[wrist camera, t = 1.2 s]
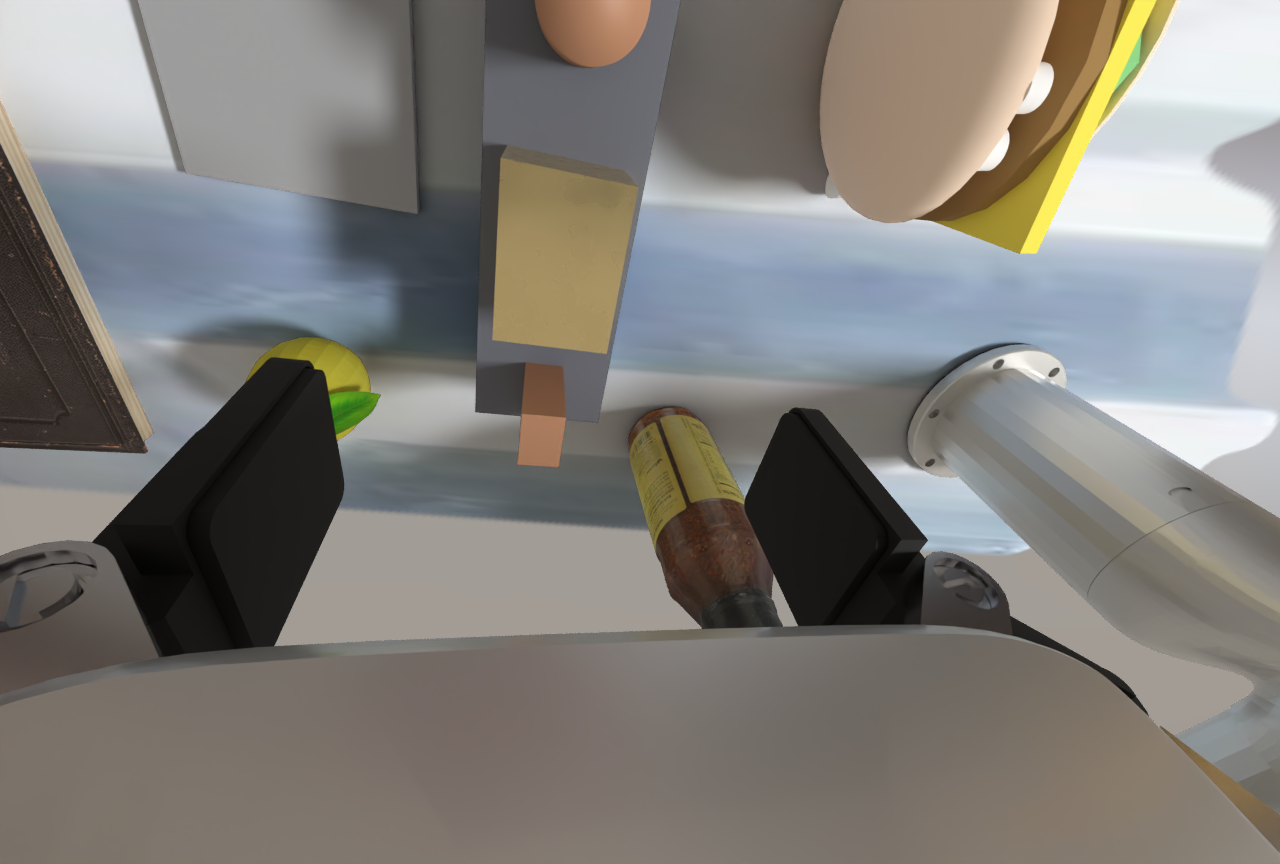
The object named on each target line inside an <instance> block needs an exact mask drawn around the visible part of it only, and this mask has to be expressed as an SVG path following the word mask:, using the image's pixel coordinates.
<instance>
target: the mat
mask: <svg viewBox="0 0 1280 864" xmlns="http://www.w3.org/2000/svg"><path fill="white" fill-rule="evenodd" d="M138 4H139V8H140V11H141V15H142V18H143V22H144V25H145V29H146V33H147V36H148V40H149V43H150V47H151V51H152V54H153V58H154V61H155V65H156V69H157V72H158V76H159V79H160V83H161V86H162V90H163V94H164V97H165V101H166V104H167V108H168V112H169V115H170V119H171V122H172V126H173V129H174V133H175V137H176V140H177V144H178V147H179V151H180V155H181V158H182V162H183V165H184V169H185V172H186V173H187V174H193V175H199V176H204V177H210V178H216V179H221V180H227V181H232V182H238V183H244V184H249V185H255V186H261V187H266V188H272V189H278V190H283V191H289V192H295V193H300V194H306V195H312V196H317V197H323V198H329V199H334V200H340V201H346V202H351V203H357V204H363V205H368V206H374V207H380V208H385V209H391V210H397V211H402V212H408V213H414V214H418V213H419V212H420V198H419V173H418V147H417V122H416V96H415V70H414V45H413V19H412V0H138Z"/></svg>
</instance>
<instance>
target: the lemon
mask: <svg viewBox="0 0 1280 864" xmlns="http://www.w3.org/2000/svg"><path fill="white" fill-rule="evenodd" d="M271 357H278V358H288V359H298V360H309V361H310V362H311V363H312V364H313V366H314V369H320V370H323V371H324V373H325V376H326V380H327V386H328V392H329V398H330V403H331V409H332V415H333V421H334V426H335V432H336V438H337V441H338V440H339V439H341V438H342V437H344V436H346V435H347V434H349V433H350V432H351V431H352V430H353V429H354V428H355V427H356V425H357V424H358V423H360V422H361V421H362V420H363V419H364V418H366V417H367V416H368V415H369V414H370V413H371V412H372V411H373V410H374V408H375V406H376V404H377V401H378V399H379V397H380V396H381V395H380V394H374V393H370V391H371V387H370V382H369V378H368V374H367V371H366V369H365V367H364V365H363V363H362V362H361V360H360V358H359V357H358V356H356V355H355V354H354V353H353V352H352V351H351V350H350V349H348V348H346V347H344V346H342V345H341V344H339V343H337V342H335V341H331V340H327V339H323V338H317V337H303V338H296V339H293V340H289V341H286V342H283V343H280V344H278V345H276V346H275V347H273V348H272V349H271V350H269V351H268V352H267V353H265V354H264V355H263V356H261V357H260V358H259V359H258V361H257V362H256V363H255V365H254V367H253V368H252V370H251V372H250V374H249V376H248V378H247V380H246V382H247V381H248V380H249V379H250V378H251V377H252V375H253V374H254V373H255V372H256V371H257V370H258V369H259V368H260V367H261V366H262V365H263V364H264V363H265V362H266V361H267V360H268V359H269V358H271Z"/></svg>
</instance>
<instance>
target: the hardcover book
mask: <svg viewBox="0 0 1280 864" xmlns="http://www.w3.org/2000/svg"><path fill="white" fill-rule="evenodd" d="M152 433H154V432H153V430H152V428H151V425H150V423H149V421H148V419H147V417H146V415H145V412H144V410H143V408H142V406H141V404H140V401H139V399H138V397H137V395H136V393H135V391H134V388H133V386H132V384H131V382H130V380H129V378H128V375H127V373H126V371H125V369H124V367H123V365H122V362H121V360H120V358H119V356H118V354H117V351H116V349H115V347H114V345H113V343H112V341H111V338H110V336H109V334H108V332H107V330H106V328H105V325H104V323H103V321H102V319H101V317H100V315H99V312H98V310H97V308H96V306H95V304H94V302H93V299H92V297H91V295H90V293H89V291H88V288H87V286H86V284H85V282H84V280H83V278H82V275H81V273H80V271H79V269H78V267H77V265H76V262H75V260H74V258H73V256H72V254H71V252H70V249H69V247H68V245H67V243H66V241H65V238H64V236H63V234H62V232H61V230H60V228H59V225H58V223H57V221H56V219H55V217H54V215H53V212H52V210H51V208H50V206H49V204H48V202H47V199H46V197H45V195H44V193H43V191H42V189H41V186H40V184H39V182H38V180H37V178H36V175H35V173H34V171H33V169H32V167H31V165H30V162H29V160H28V158H27V156H26V154H25V152H24V149H23V147H22V145H21V143H20V141H19V139H18V136H17V134H16V132H15V130H14V128H13V126H12V123H11V121H10V119H9V117H8V115H7V112H6V110H5V108H4V106H3V104H2V102H1V99H0V447H5V448H29V449H52V450H75V451H98V452H121V453H146V452H147V451H148V450H147V448H146V446H145V444H144V441H145V440H146V439H147V438H148V437H150V436H151V435H152Z"/></svg>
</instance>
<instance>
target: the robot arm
mask: <svg viewBox="0 0 1280 864" xmlns="http://www.w3.org/2000/svg"><path fill="white" fill-rule="evenodd" d="M1066 379H1067V376H1066V372H1065V368H1064V366H1063V364H1062V363H1061V362H1060V360H1059V359H1058V358H1057V357H1055V356H1054V355H1052V354H1051V353H1049V352H1047V351H1045V350H1043V349H1041V348H1039V347H1037V346H1031V345H1025V344H1022V345H1009V346H1004V347H1000V348H996V349H993V350H990V351H988V352H985V353H983V354H980V355H978V356H976V357H974V358H972V359H971V360H969V361H967V362H965V363H963V364H962V365H960V366H959V367H957V368H956V369H955V370H953V371H952V372H950V373H949V374H948V375H947V376H946V377H944V378H943V379H942V380H941V381H940V382H939V383H938V384H937V385H936V386H935V387H934V388H933V389H932V390H931V391H930V392H929V393H928V395H927V396H926V397H925V398H924V400H923V401H922V403H921V404H920V406H919V407H918V409H917V410H916V413H915V415H914V417H913V419H912V421H911V424H910V427H909V431H908V442H907V444H908V449H909V453H910V455H911V456H912V458H913V459H914V461H915V462H916V463H917V464H918V465H919V466H920V467H921V468H922V469H923V470H925V471H926V472H928V473H930V474H932V475H936V476H939V477H950V478H952V477H959V478H960V479H961V480H962V481H963V482H964V483H965V484H966V485H967V486H968V487H969V488H970V489H971V490H972V491H973V492H974V493H975V494H976V495H977V496H978V497H979V498H980V499H981V500H982V501H984V502H985V503H986V504H987V505H988V506H989V507H990V508H991V509H992V510H993V511H994V512H995V513H996V514H997V515H998V516H999V517H1000V518H1001V519H1002V520H1003V521H1004V522H1005V523H1006V524H1007V525H1008V526H1009V527H1010V528H1011V529H1012V530H1013V531H1014V532H1015V533H1016V534H1017V535H1018V536H1019V537H1021V538H1022V539H1023V540H1024V541H1025V542H1026V543H1027V544H1028V545H1029V546H1030V547H1031V548H1032V549H1033V550H1034V551H1035V552H1036V553H1037V554H1038V555H1039V556H1040V557H1041V558H1042V559H1043V560H1044V561H1045V562H1047V564H1048V565H1049V566H1050V567H1051V568H1053V570H1054V571H1055V572H1057V573H1058V574H1059V575H1060V576H1061V577H1062V578H1063V579H1064V580H1065V581H1066V582H1067V583H1068V584H1069V585H1070V586H1071V587H1072V588H1073V589H1074V590H1075V591H1076V592H1077V593H1078V594H1079V595H1080V596H1081V597H1082V598H1084V600H1085V601H1087V602H1088V603H1089V604H1090V605H1091V606H1092V607H1093V608H1094V609H1095V610H1096V611H1097V612H1098V613H1099V614H1100V615H1101V616H1102V617H1103V618H1104V619H1105V620H1106V621H1108V622H1109V623H1110V624H1111V625H1112V626H1113V627H1115V628H1116V629H1117V630H1118V631H1120V632H1121V633H1123V634H1124V635H1125V636H1127V637H1129V638H1130V639H1132V640H1134V641H1135V642H1137V643H1139V644H1141V645H1143V646H1145V647H1147V648H1150V649H1152V650H1154V651H1157V652H1159V653H1162V654H1166V655H1169V656H1172V657H1175V658H1179V659H1182V660H1186V661H1190V662H1194V663H1198V664H1202V665H1207V666H1211V667H1215V668H1219V669H1223V670H1227V671H1230V672H1234V673H1236V674H1239V675H1241V676H1244V677H1246V678H1247V679H1249V680H1250V681H1251V682H1252V683H1253V684H1254V689H1253V691H1252V692H1251V693H1250V694H1249V695H1248V696H1247V697H1245V698H1243V699H1241V700H1240V701H1238V702H1236V703H1234V704H1233V705H1231V707H1230V709H1228V710H1226V711H1223V712H1221V713H1219V714H1218V715H1215V716H1213V717H1211V718H1209V719H1208V720H1205V721H1203V722H1201V723H1199V724H1197V725H1195V726H1193V727H1191V728H1189V729H1187V730H1185V731H1183V732H1181V733H1179V734H1176V735H1172V734H1171V733H1169V732H1168V731H1167V730H1165V729H1164V728H1163V727H1161V726H1158V725H1157V724H1156V723H1155V722H1154V721H1153V720H1152V719H1151V718H1150V717H1149V715H1148V713H1147V711H1146V710H1145V708H1144V707H1143V705H1142V704H1141V703H1140V701H1139V700H1138V698H1137V697H1136V695H1135V694H1134V692H1133V691H1132V690H1131V688H1130V687H1129V686H1128V685H1127V684H1126V683H1125V682H1124V681H1123V680H1121V679H1120V678H1119V677H1118V676H1116V675H1115V674H1113V673H1111V672H1110V671H1108V670H1106V669H1104V668H1101V667H1100V666H1098V665H1097V664H1095V663H1093V662H1092V661H1090V660H1088V659H1086V658H1084V657H1083V656H1081V655H1079V654H1077V653H1075V652H1074V651H1072V650H1070V649H1068V648H1067V647H1065V646H1063V645H1061V644H1059V643H1058V642H1056V641H1054V640H1052V639H1050V638H1048V637H1047V636H1045V635H1043V634H1042V633H1040V632H1038V631H1036V630H1034V629H1033V628H1031V627H1029V626H1027V625H1026V624H1024V623H1022V622H1020V621H1018V620H1017V619H1015V618H1013V617H1011V616H1010V610H1009V603H1008V600H1007V598H1006V595H1005V593H1004V591H1003V590H1002V588H1001V587H1000V585H999V584H998V583H997V582H996V581H995V580H994V579H993V578H992V577H991V576H990V575H989V574H988V573H987V572H985V571H984V570H983V569H981V568H980V567H979V566H978V565H976V564H974V563H972V562H971V561H969V560H967V559H965V558H963V557H961V556H958V555H956V554H953V553H948V552H943V551H939V552H932V553H931V554H929V555H928V556H927V557H926V558H924V557H923V556H922V554H921V553H920V552H919V551H920V550H921V549H922V547H923V546H924V545H925V543H926V542H927V541H928V540H927V538H926V537H925V536H924V535H923V534H922V532H921V531H920V530H919V529H918V527H917V526H916V525H915V524H914V523H913V521H912V520H911V519H910V518H909V517H908V515H907V514H906V513H905V512H904V511H903V509H902V508H901V507H900V506H899V505H898V503H897V502H896V501H895V500H894V499H893V497H892V496H891V495H890V494H889V493H888V491H887V490H886V489H885V488H884V487H883V485H882V484H881V483H880V482H879V481H878V479H877V478H876V477H875V476H874V475H873V473H872V472H871V471H870V470H869V469H868V467H867V466H866V465H865V464H864V463H863V461H862V460H861V459H860V458H859V457H858V455H857V454H856V453H855V452H854V451H853V449H852V448H851V447H850V446H849V444H848V443H847V442H846V441H845V440H844V438H843V437H842V436H841V435H840V434H839V432H838V431H837V430H836V429H835V428H834V426H833V425H832V424H831V423H830V422H829V420H828V419H827V418H826V417H825V416H824V414H823V413H822V412H821V411H819V410H816V409H806V408H796V407H795V408H793V409H791V410H790V411H789V413H785V414H784V415H783V416H782V417H781V419H780V421H779V424H778V426H777V428H776V430H775V433H774V435H773V437H772V439H771V442H770V444H769V446H768V448H767V450H766V453H765V455H764V457H763V459H762V462H761V464H760V466H759V468H758V471H757V473H756V475H755V477H754V480H753V482H752V484H751V486H750V489H749V491H748V493H747V495H746V498H745V502H744V509H745V513H746V515H747V518H748V520H749V522H750V524H751V526H752V528H753V530H754V533H755V535H756V537H757V539H758V541H759V543H760V545H761V547H762V550H763V552H764V554H765V556H766V558H767V560H768V562H769V565H770V567H771V569H772V571H773V573H774V575H775V577H776V579H777V582H778V583H779V586H780V588H781V590H782V592H783V594H784V597H785V599H786V601H787V603H788V605H789V607H790V609H791V612H792V613H793V616H794V618H795V620H796V622H797V624H798V626H795V627H757V628H721V629H690V630H658V631H629V632H599V633H569V634H543V635H542V634H541V635H518V636H517V635H515V636H489V637H462V638H438V639H437V638H436V639H410V640H385V641H365V642H347V643H328V644H308V645H291V646H274V645H275V643H276V641H277V639H278V637H279V635H280V632H281V630H282V628H283V626H284V624H285V622H286V619H287V617H288V615H289V613H290V611H291V608H292V606H293V604H294V602H295V600H296V598H297V596H298V593H299V591H300V589H301V587H302V585H303V582H304V580H305V578H306V576H307V574H308V571H309V569H310V567H311V565H312V563H313V561H314V559H315V556H316V554H317V552H318V550H319V548H320V546H321V543H322V541H323V539H324V537H325V535H326V533H327V530H328V528H329V526H330V524H331V522H332V520H333V517H334V515H335V513H336V511H337V509H338V507H339V504H340V502H341V500H342V497H343V492H344V478H343V472H342V467H341V461H340V455H339V449H338V444H337V438H336V432H335V426H334V421H333V415H332V409H331V403H330V398H329V392H328V386H327V380H326V376H325V373H324V371H323V370H320V369H314V366H313V364H312V363H311V362H310V361H309V360H298V359H288V358H278V357H271V358H269V359H268V360H267V361H266V362H265V363H264V364H263V365H262V366H261V367H260V368H259V369H258V370H257V371H256V372H255V373H254V374H253V375H252V377H251V378H250V379H249V380H248V381H247V382H246V383H245V384H244V385H243V386H242V387H241V388H240V389H239V390H238V391H237V392H236V394H235V395H234V396H233V397H232V398H231V399H230V400H229V401H228V402H227V403H226V404H225V405H224V406H223V407H222V408H221V409H220V410H219V412H218V413H217V414H216V415H215V416H214V417H213V418H212V419H211V420H210V421H209V422H208V423H207V424H206V425H205V426H204V427H203V428H202V429H200V430H199V431H198V432H196V433H195V434H194V435H193V436H192V437H191V438H190V439H189V440H188V442H187V443H186V444H185V445H184V446H183V447H182V448H181V449H180V450H179V451H178V452H177V453H176V454H175V455H174V456H173V457H172V458H171V459H170V460H169V462H168V463H167V464H166V465H165V466H164V467H163V468H162V469H161V470H160V471H159V472H158V473H157V474H156V475H155V476H154V477H153V478H152V479H151V480H150V482H149V483H148V484H147V485H146V486H145V487H144V488H143V489H142V490H141V491H140V492H139V493H138V494H137V495H136V496H135V497H134V498H133V500H131V502H130V503H129V504H128V505H127V506H126V507H125V508H124V509H123V510H122V511H121V512H120V513H119V514H118V515H117V517H115V518H114V520H112V522H111V523H110V524H109V525H108V526H107V527H106V528H105V529H104V530H103V531H102V532H101V533H100V534H99V535H98V536H97V537H96V539H94V541H93V542H84V541H59V542H51V543H42V544H38V545H34V546H31V547H26V548H22V549H19V550H15V551H12V552H9V553H7V554H4V555H1V556H0V864H1280V518H1279V517H1277V516H1275V515H1274V514H1272V513H1270V512H1268V511H1267V510H1265V509H1264V508H1262V507H1260V506H1259V505H1257V504H1255V503H1254V502H1252V501H1250V500H1248V499H1247V498H1245V497H1244V496H1242V495H1240V494H1239V493H1237V492H1235V491H1233V490H1232V489H1230V488H1228V487H1227V486H1225V485H1224V484H1222V483H1220V482H1219V481H1217V480H1215V479H1214V478H1212V477H1210V476H1209V475H1207V474H1205V473H1204V472H1202V471H1200V470H1199V469H1197V468H1195V467H1194V466H1192V465H1191V464H1189V463H1187V462H1186V461H1184V460H1182V459H1181V458H1179V457H1177V456H1176V455H1174V454H1172V453H1171V452H1169V451H1167V450H1166V449H1164V448H1162V447H1161V446H1159V445H1157V444H1156V443H1154V442H1152V441H1151V440H1149V439H1147V438H1146V437H1144V436H1142V435H1141V434H1139V433H1137V432H1136V431H1134V430H1132V429H1131V428H1129V427H1127V426H1126V425H1124V424H1122V423H1121V422H1119V421H1118V420H1116V419H1114V418H1113V417H1111V416H1109V415H1108V414H1106V413H1104V412H1103V411H1101V410H1099V409H1098V408H1096V407H1094V406H1093V405H1091V404H1089V403H1088V402H1086V401H1084V400H1083V399H1081V398H1079V397H1078V396H1076V395H1074V394H1073V393H1071V392H1069V391H1068V390H1066Z"/></svg>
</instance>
